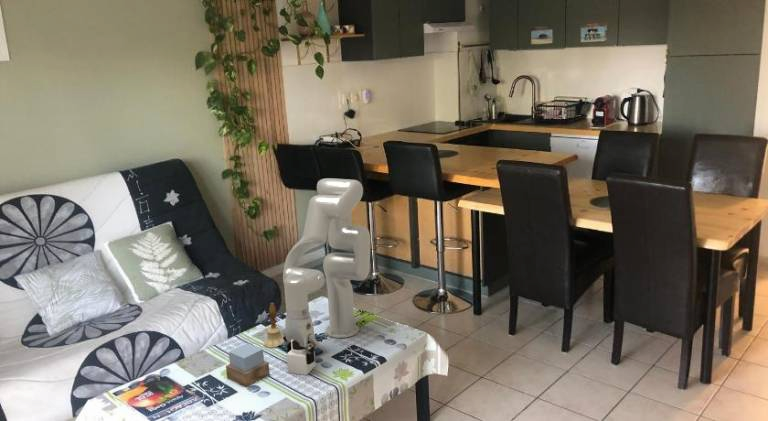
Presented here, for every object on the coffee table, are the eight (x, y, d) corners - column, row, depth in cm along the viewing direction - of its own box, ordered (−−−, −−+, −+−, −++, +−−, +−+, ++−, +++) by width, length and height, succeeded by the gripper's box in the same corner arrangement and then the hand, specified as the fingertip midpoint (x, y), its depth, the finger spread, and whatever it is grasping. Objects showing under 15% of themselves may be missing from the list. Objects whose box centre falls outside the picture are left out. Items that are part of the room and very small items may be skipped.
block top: (248, 356, 226) (247, 342, 224) (264, 362, 221) (262, 349, 219) (230, 365, 220) (228, 351, 218) (245, 372, 215) (243, 358, 213)
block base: (250, 367, 228) (249, 354, 227) (269, 375, 222) (268, 362, 221) (227, 379, 221) (225, 365, 220) (246, 388, 215) (245, 374, 213)
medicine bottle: (315, 365, 227) (313, 333, 224) (306, 375, 221) (304, 343, 218) (297, 363, 229) (294, 331, 226) (287, 372, 223) (285, 340, 220)
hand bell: (270, 337, 250) (267, 298, 246) (289, 339, 248) (286, 300, 244) (259, 346, 243) (255, 306, 239) (279, 349, 240) (276, 309, 236)
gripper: (324, 314, 217) (327, 362, 221) (288, 302, 228) (291, 348, 232) (307, 322, 211) (311, 370, 216) (271, 310, 222) (275, 356, 227)
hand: (301, 359), depth 224 cm, fingers closed on medicine bottle, 8 cm apart
